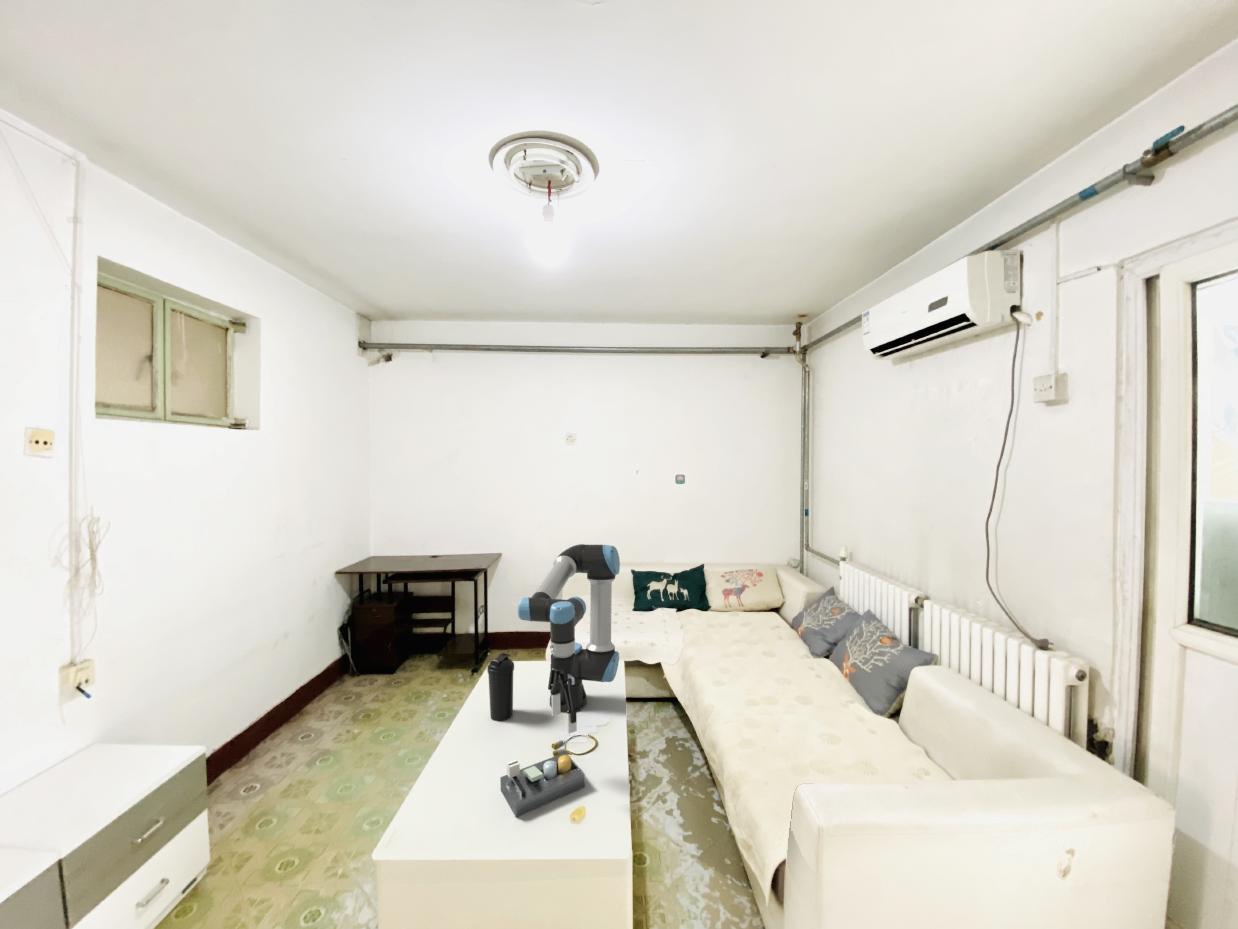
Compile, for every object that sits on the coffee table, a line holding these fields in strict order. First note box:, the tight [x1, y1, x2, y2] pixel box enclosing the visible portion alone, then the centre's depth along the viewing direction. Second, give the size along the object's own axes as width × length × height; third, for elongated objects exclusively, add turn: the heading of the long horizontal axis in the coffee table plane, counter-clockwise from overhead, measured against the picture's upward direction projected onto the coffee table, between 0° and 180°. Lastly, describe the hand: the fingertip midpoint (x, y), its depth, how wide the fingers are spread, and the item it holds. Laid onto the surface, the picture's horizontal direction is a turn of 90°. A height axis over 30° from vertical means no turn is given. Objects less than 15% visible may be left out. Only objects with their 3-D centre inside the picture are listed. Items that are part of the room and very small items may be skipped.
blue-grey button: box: [543, 761, 557, 781], centre depth 147 cm, size 4×4×4 cm
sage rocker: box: [523, 766, 543, 782], centre depth 144 cm, size 4×7×1 cm, turn 32°
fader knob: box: [506, 759, 521, 778], centre depth 144 cm, size 3×2×3 cm
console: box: [499, 752, 586, 818], centre depth 145 cm, size 22×13×5 cm, turn 122°
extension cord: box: [551, 734, 598, 757], centre depth 167 cm, size 12×16×2 cm
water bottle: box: [486, 652, 515, 722], centre depth 186 cm, size 10×10×23 cm
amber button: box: [558, 754, 572, 776], centre depth 149 cm, size 4×4×4 cm
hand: (563, 723), depth 149 cm, fingers open, 11 cm apart
